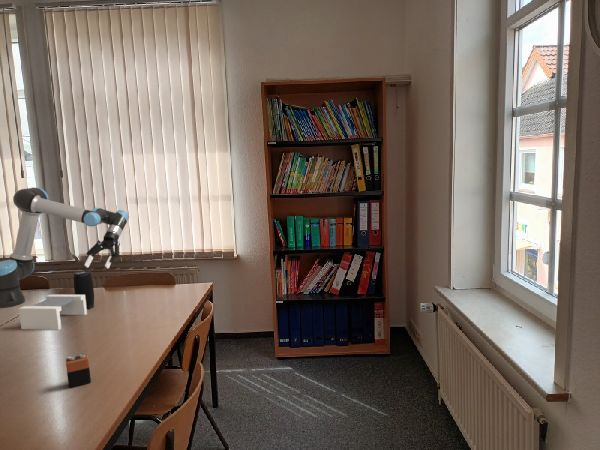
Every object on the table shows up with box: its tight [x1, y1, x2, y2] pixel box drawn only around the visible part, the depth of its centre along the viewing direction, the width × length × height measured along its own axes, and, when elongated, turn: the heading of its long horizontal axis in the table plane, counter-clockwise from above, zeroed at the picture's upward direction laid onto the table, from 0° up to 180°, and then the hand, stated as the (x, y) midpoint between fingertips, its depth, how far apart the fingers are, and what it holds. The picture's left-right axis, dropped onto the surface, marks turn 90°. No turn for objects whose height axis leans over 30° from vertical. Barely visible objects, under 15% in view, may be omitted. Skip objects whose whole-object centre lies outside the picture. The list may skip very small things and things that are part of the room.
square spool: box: [18, 293, 88, 331], centre depth 224 cm, size 22×19×10 cm
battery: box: [65, 353, 92, 389], centre depth 159 cm, size 4×7×10 cm, turn 120°
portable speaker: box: [73, 269, 95, 310], centre depth 243 cm, size 9×9×20 cm
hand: (96, 266), depth 250 cm, fingers open, 13 cm apart
